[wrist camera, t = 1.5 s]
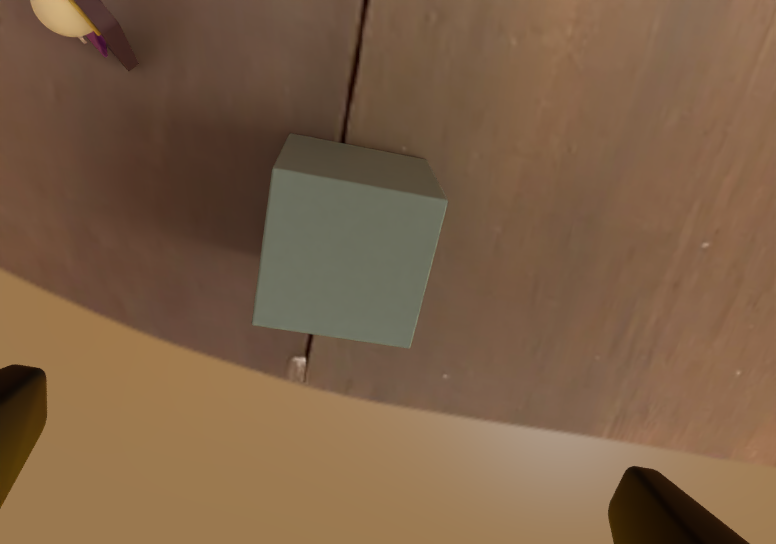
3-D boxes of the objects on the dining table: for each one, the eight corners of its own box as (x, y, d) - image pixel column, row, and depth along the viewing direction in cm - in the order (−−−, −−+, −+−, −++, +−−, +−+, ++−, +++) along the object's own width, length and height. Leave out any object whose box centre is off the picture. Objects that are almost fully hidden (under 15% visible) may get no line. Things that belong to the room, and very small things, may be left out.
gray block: (270, 261, 20) (251, 325, 16) (289, 132, 18) (271, 167, 14) (398, 282, 21) (410, 349, 17) (427, 159, 19) (449, 200, 15)
